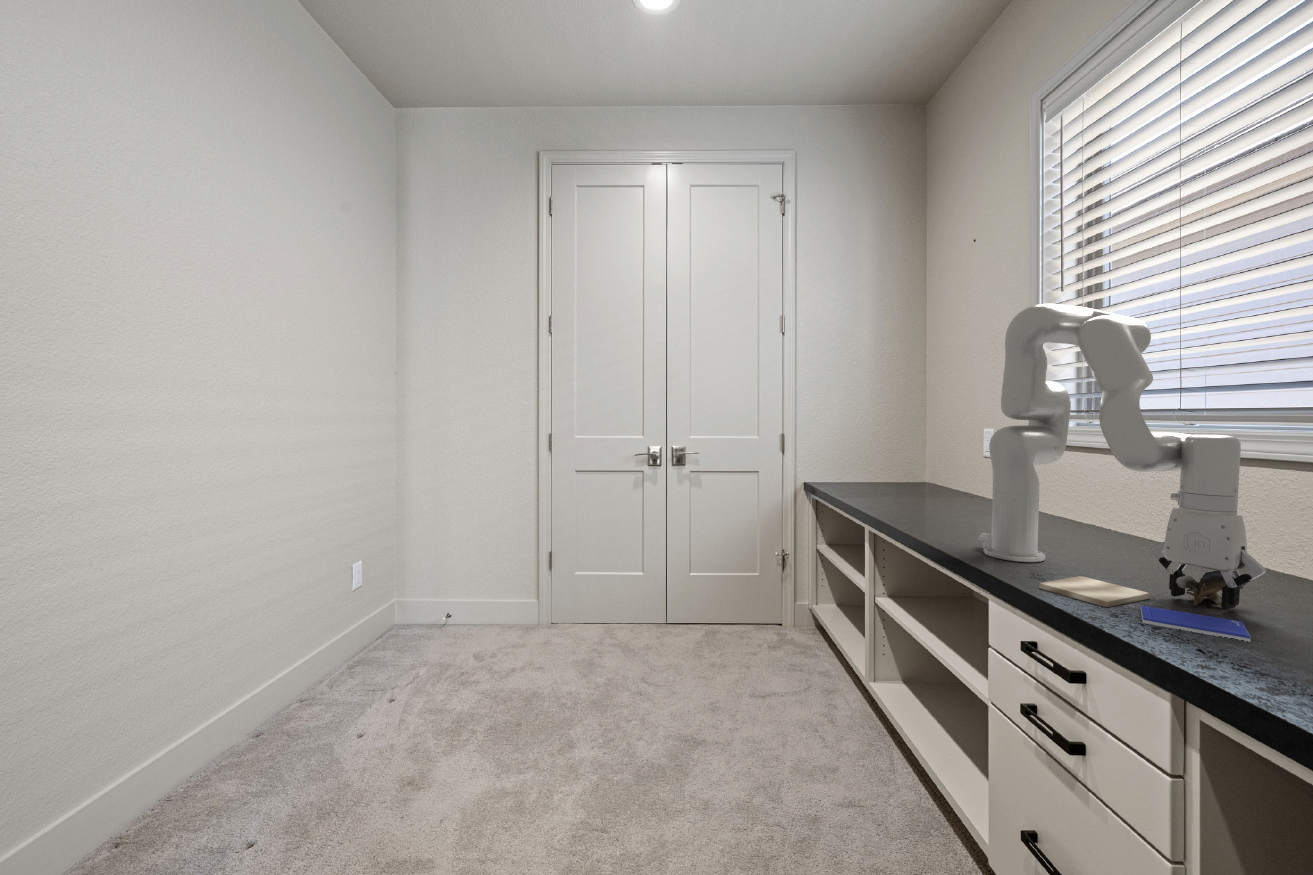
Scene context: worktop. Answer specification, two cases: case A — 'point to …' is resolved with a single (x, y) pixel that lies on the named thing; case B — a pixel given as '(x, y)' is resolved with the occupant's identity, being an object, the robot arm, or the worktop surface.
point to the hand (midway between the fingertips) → (1202, 600)
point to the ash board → (1094, 591)
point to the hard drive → (1195, 623)
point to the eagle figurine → (1204, 586)
